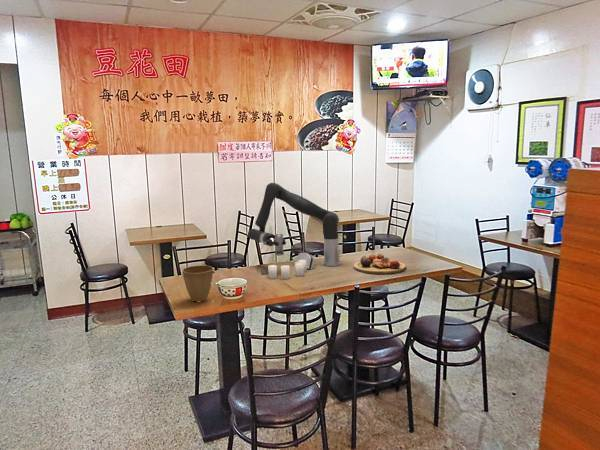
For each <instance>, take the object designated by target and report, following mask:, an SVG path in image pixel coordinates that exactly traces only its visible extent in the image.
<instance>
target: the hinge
mask: <svg viewBox="0 0 600 450" xmlns="http://www.w3.org/2000/svg"><path fill="white" fill-rule="evenodd" d="M298 260H306V263H307V269H309V270H313V269H314V268H313V267H314V263H315V257H314V256H313V255H312V254H310V253H307V252H298V256H297V259H296V260H295V262H294V263H293V265H294V266H295V263H298Z"/></svg>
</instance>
